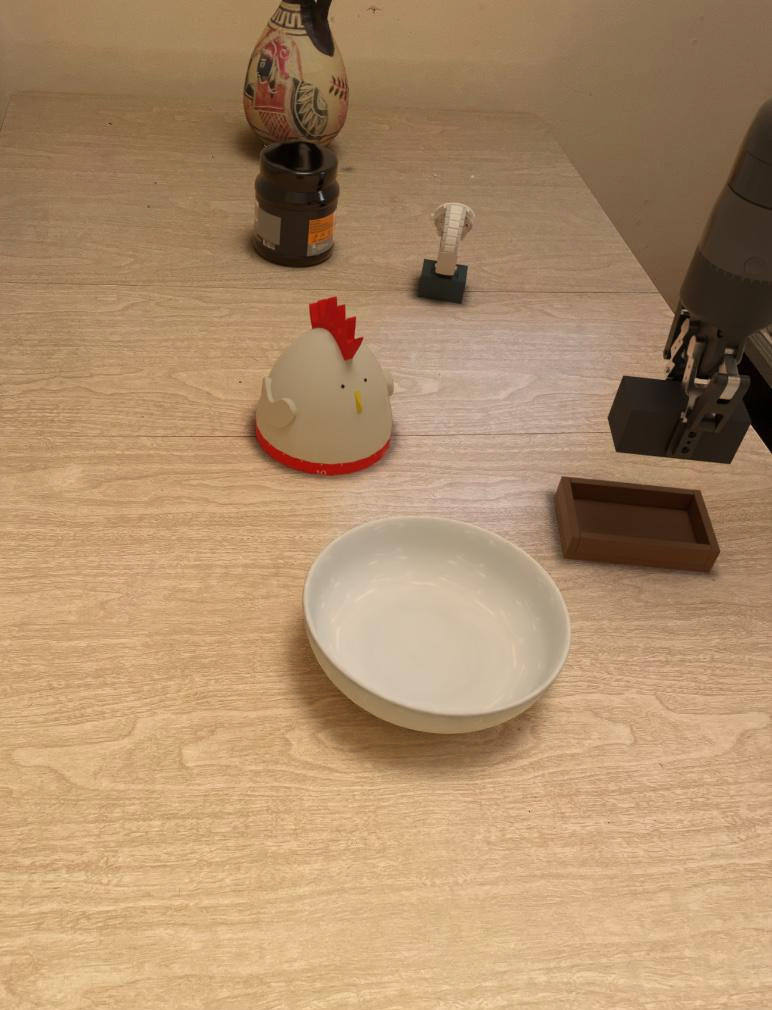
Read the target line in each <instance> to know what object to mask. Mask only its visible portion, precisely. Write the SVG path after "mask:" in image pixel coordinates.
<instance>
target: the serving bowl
mask: <svg viewBox="0 0 772 1010" xmlns="http://www.w3.org/2000/svg"><path fill="white" fill-rule="evenodd" d="M301 598H302V603H301V604H302V613H303V620H304V621H303V622H304V627H305V631H306V636H307V639H308V642H309V645H310V648H311V650H312V653H313V654H314V657H315V658H316V660H317V662H318V665H320V668H321V669H322V670H323V672H324V673H325V675H326V676H327V678H329V680H330V681H331V682H332V684H333V685H334V686H335V688H337V689H338V690H339V691H340V692H341V693H342V694H343V695H345V696H346V697H347V698H348V699H349V700H350V701H351V702H353V703H354V704H356V705H357V706H358V707H359V708H360V709H363V710H364V711H365V712H368V713H369V714H371V715H372V716H374V717H377V718H379V719H381V720H383V721H385V722H387V723H390V724H392V725H395V726H398V727H401V728H405V729H409V730H413V731H416V732H417V731H418V732H424V733H431V734H445V735H446V734H447V735H448V734H449V735H450V734H466V733H472V732H478V731H482V730H483V731H484V730H486V729H490V728H492V727H496V726H498V725H501V724H504V723H506V722H508V721H510V720H511V719H513V718H515V717H517V716H519V715H521V714H522V713H523V712H525V711H527V710H528V709H530V708H531V707H532V706H533V705H534V704H535V703H536V702H538V701H539V700H540V699H541V698H542V697H543V696H545V693H547V691H548V690H549V689H550V688H551V686H553V684H554V683H555V681H556V680H557V679H558V677H559V676H560V675H561V673H562V671H563V669H564V667H565V665H566V663H567V660H568V658H569V656H570V655H569V654H570V651H571V646H572V638H573V637H572V636H573V635H572V622H571V617H570V613H569V609H568V606H567V604H566V600H565V599H564V596H563V594H562V592H561V590H560V589H559V587H558V585H557V584H556V582H555V581H554V579H553V578H552V577H551V576H550V574H549V573H548V572H547V571H546V570H545V569H544V568H543V566H542V565H541V564H540V563H539V562H538V561H537V560H536V559H535V558H533V557H532V556H531V555H530V554H529V553H528V552H526V551H524V549H522V548H521V547H519V546H517V544H515V543H513V542H511V541H510V540H508V539H506V538H505V537H503V536H501V535H499V534H497V533H495V532H493V531H490V530H488V529H486V528H483V527H481V526H478V525H476V524H473V523H468V522H465V521H461V520H458V519H454V518H448V517H442V516H434V515H418V514H415V515H412V514H411V515H397V516H388V517H383V518H378V519H375V520H371V521H368V522H367V521H366V522H364V523H361V524H359V525H357V526H354V527H353V528H350V529H348V530H346V531H345V532H343V533H342V534H340V535H338V536H336V537H335V538H334V539H333V540H331V541H330V542H329V543H328V544H327V545H326V546H324V548H323V549H322V550H321V551H320V552H319V553H318V554H317V556H316V557H315V559H314V560H313V562H312V563H311V565H310V567H309V568H308V571H307V573H306V575H305V578H304V584H303V588H302V597H301Z"/></svg>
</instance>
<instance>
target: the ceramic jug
mask: <svg viewBox="0 0 772 1010" xmlns="http://www.w3.org/2000/svg"><path fill="white" fill-rule="evenodd" d="M332 2H333V0H281V1H280V3H279V5H278V6H277V8H276V10H275V11H274V13H273V15H271V17H270V18H269V20H268V21H267V24H266V25H265V27H264V29H263V30H262V33H261V34H260V37H259V38H258V40H257V41H256V43H255V46H254V47H253V50H252V52H251V54H250V57H249V60H248V64H247V69H246V71H245V72H246V73H245V77H244V84H243V91H242V105H243V110H244V116H245V119H246V122H247V123H248V125H249V127H250V128H251V130H252V131H253V132H254V134H255V135H256V137H257V138H258V140H259V141H260V142H261V144H262V143H263V144H264V145H265V146H268V145H270V144H273V143H276V142H281V141H304V142H310V143H314V144H318V145H321V146H323V147H325V148H327V147H328V146H329V145H330V144H331V143H332V142H333V141H334V140H335V139H336V138H337V136H339V134H340V132H341V131H342V129H343V128H344V125H345V122H346V119H347V116H348V110H349V102H350V101H349V100H350V99H349V98H350V96H349V95H350V94H349V93H350V88H349V79H348V75H347V71H346V66H345V62H344V59H343V56H342V53H341V50H340V48H339V46H338V43H337V41H336V39H335V37H334V34H333V32H332V29H331V27H330V23H329V19H328V18H329V12H330V7H331V5H332ZM263 144H262V145H263ZM264 148H265V147H264V146H263V149H264Z"/></svg>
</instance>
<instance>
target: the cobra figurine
mask: <svg viewBox="0 0 772 1010" xmlns="http://www.w3.org/2000/svg"><path fill="white" fill-rule="evenodd" d="M430 221H433V223H434V226H435V229H436V233H437V237H438V238H440V243H439V247H438V248H439V249H438V254H437V260H435V259H428V258H423V263H422V268H421V272H420V279H419V284H418V290H417V297H416V298H423V299H428V300H434V301H440V302H447V303H453V304H459V305H462V304H463V299H464V294H465V289H466V284H467V278H468V269H469V265H466V264H459V263H457V262H458V258H459V251H458V250H459V247H460V242H461V241H464V239H465V238H466V236H467V235H468V234H469V233H470V232H471V231H472V230H473V228H474V225H475V222H476V214H475V212H474V211H473V209H472V208H471V207H469V206H468V205H466V204H463V203H460V202H446V203H442V204H441V205H439V206H438V207H436V208H435V211H434V213H431V214H430Z"/></svg>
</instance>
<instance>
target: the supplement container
mask: <svg viewBox="0 0 772 1010" xmlns="http://www.w3.org/2000/svg"><path fill="white" fill-rule="evenodd" d="M258 163H259V168H258V170H259V173H258V174H257V175H256V177H255V179H254V185H253V187H254V192H255V193H254V220H253V221H254V223H253V234H252V242H253V246H254V248H255V250H256V251H257V253H258V254H259V255H261V256H262V258H264V259H265V260H267V261H270V262H271V263H275V264H278V265H281V266H286V267H287V266H288V267H294V268H295V267H300V268H301V267H310V266H315V265H317V264H320V263H322V262H324V261H326V260H327V259H328V258H329V257H330V256H331V255H332V253H333V251H334V248H335V235H336V223H337V214H338V203H339V197H340V193H341V187H340V184H339V181H338V179H337V178H338V171H339V158H338V156H337V155H336V154H335V153H334V152H333V151H332V150H331V149H330V148H327V147H326V148H325V147H323V146H321V145H318V144H314V143H310V142H304V141H281V142H276V143H273V144H270V145H268V146H266V147H265V148H264V147H263V148H262V149H261V150H260V152H259V162H258Z"/></svg>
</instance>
